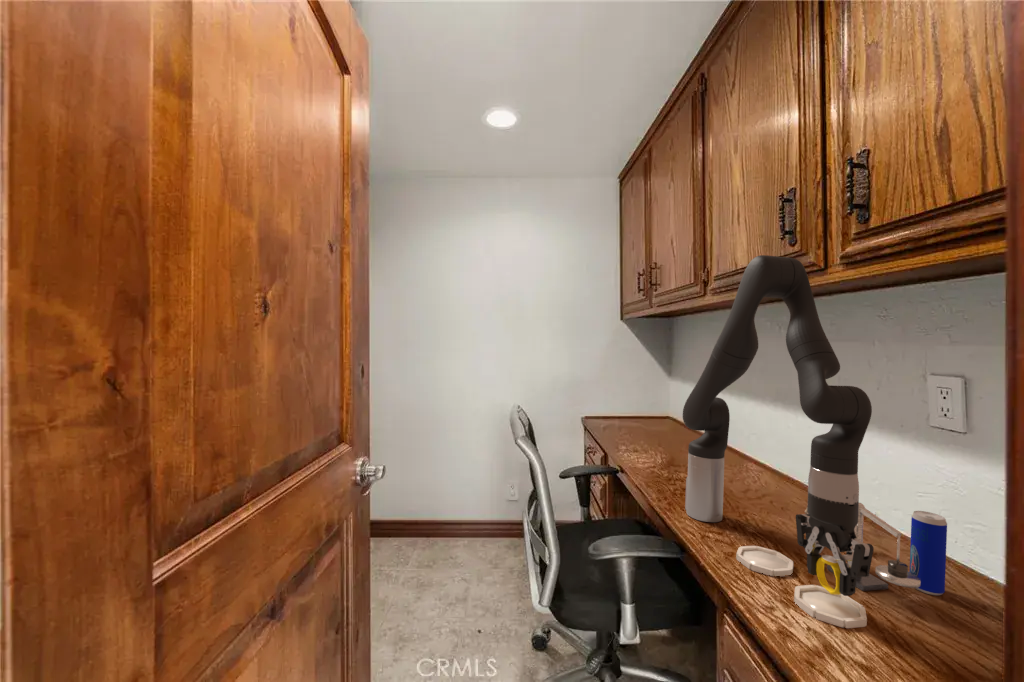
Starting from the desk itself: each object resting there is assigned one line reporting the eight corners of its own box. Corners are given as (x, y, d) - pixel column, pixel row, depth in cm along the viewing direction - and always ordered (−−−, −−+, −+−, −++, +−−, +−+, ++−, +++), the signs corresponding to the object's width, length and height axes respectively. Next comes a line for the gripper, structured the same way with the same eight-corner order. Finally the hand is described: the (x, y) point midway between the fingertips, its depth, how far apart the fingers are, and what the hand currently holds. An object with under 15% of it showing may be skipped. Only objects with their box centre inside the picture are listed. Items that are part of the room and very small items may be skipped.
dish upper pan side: (726, 552, 100) (727, 547, 100) (767, 549, 101) (767, 544, 101) (760, 577, 89) (760, 572, 89) (805, 574, 91) (805, 568, 91)
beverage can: (908, 578, 90) (910, 508, 90) (942, 588, 87) (945, 514, 87) (910, 589, 86) (912, 515, 86) (946, 600, 83) (949, 523, 83)
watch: (848, 601, 77) (850, 569, 76) (831, 600, 77) (834, 568, 76) (826, 580, 82) (828, 550, 82) (810, 579, 83) (813, 549, 82)
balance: (798, 552, 100) (801, 478, 100) (822, 551, 101) (825, 477, 101) (900, 614, 78) (903, 518, 78) (929, 611, 79) (932, 517, 79)
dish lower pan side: (780, 593, 84) (781, 587, 84) (827, 589, 86) (828, 583, 86) (829, 630, 73) (829, 623, 73) (881, 624, 75) (882, 618, 75)
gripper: (783, 481, 86) (781, 564, 86) (852, 509, 72) (849, 610, 72) (816, 480, 87) (813, 562, 87) (889, 508, 73) (886, 606, 73)
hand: (829, 583), depth 79 cm, fingers closed on watch, 6 cm apart
